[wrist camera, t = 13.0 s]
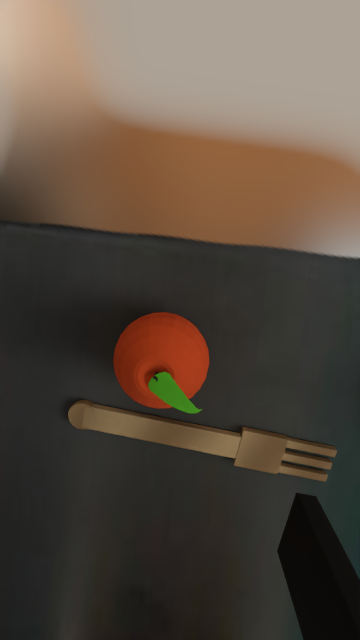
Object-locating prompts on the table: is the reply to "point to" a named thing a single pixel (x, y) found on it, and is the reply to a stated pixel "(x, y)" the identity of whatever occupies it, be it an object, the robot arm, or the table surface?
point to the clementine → (161, 361)
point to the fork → (208, 439)
